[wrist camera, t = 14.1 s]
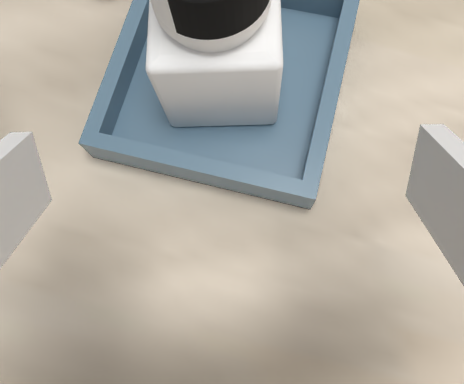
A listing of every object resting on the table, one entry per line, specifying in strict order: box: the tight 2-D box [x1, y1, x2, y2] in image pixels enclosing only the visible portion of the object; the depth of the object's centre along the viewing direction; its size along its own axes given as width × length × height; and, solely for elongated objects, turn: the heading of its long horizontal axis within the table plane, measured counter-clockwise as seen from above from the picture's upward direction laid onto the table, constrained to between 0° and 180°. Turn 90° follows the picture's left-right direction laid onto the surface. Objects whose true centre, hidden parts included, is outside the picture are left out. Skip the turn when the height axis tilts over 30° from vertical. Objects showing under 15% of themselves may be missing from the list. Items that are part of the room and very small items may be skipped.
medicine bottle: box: [146, 0, 283, 127], centre depth 23 cm, size 7×7×12 cm
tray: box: [79, 0, 359, 209], centre depth 28 cm, size 15×15×2 cm
